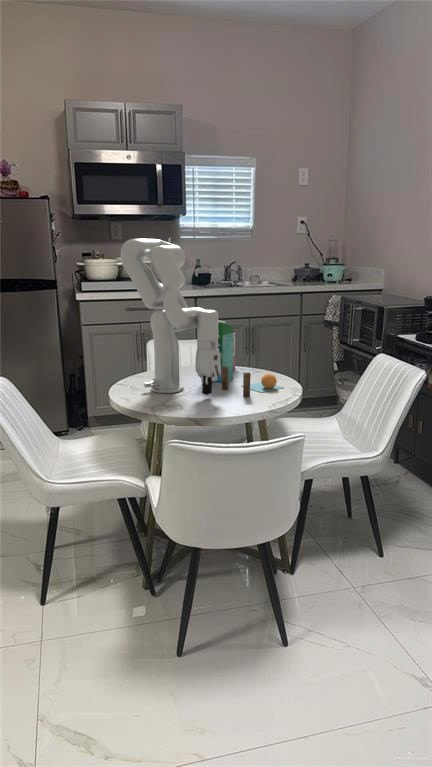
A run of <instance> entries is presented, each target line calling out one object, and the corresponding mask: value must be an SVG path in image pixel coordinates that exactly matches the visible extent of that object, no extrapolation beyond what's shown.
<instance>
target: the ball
mask: <svg viewBox="0 0 432 767" xmlns="http://www.w3.org/2000/svg"><path fill="white" fill-rule="evenodd" d="M260 382H261V383H262V385H263V387H265V388H267V389H271V388H273V387H275V385H277V382H278V380H277V377H276V376H275V375H274V374H273V373H266V374H264V375H263V376H262V378H261V380H260Z"/></svg>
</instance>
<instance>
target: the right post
mask: <svg viewBox="0 0 432 767" xmlns="http://www.w3.org/2000/svg"><path fill="white" fill-rule="evenodd" d="M242 375H243V381H242V386H243V387H242V389H243V390H242V391H243V392H242V396H243V398H250V397H251V389H250V384H251V372H250V371H249V372H248V371H246V372H245V371H244V372H243V374H242Z"/></svg>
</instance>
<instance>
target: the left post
mask: <svg viewBox="0 0 432 767" xmlns="http://www.w3.org/2000/svg"><path fill="white" fill-rule="evenodd" d="M221 390H222V391H228V390H229V380H228V366H222V383H221Z"/></svg>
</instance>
